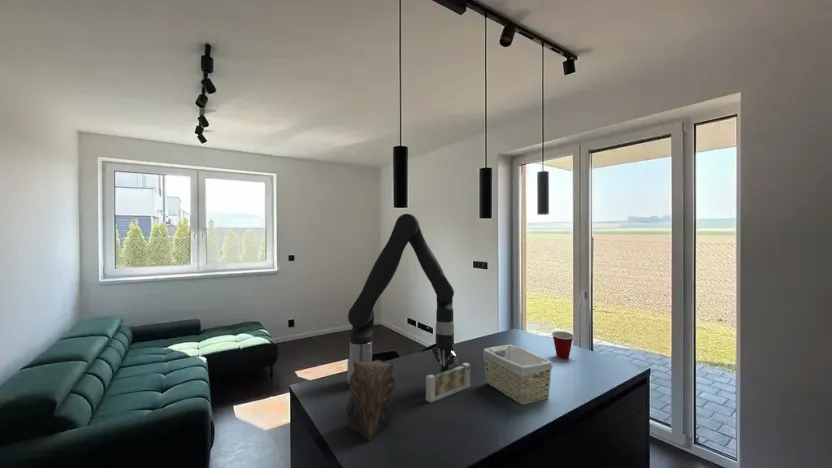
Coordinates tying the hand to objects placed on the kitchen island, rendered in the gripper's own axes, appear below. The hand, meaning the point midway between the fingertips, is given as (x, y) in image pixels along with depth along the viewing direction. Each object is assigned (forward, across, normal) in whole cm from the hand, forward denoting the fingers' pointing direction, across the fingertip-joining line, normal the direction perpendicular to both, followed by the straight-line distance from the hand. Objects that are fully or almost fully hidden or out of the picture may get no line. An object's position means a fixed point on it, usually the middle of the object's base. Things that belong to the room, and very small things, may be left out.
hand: (444, 374), depth 140 cm
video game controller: (+5, -14, +19) cm, 24 cm away
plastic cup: (+6, +14, +73) cm, 75 cm away
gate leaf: (+4, +5, -3) cm, 7 cm away
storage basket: (+6, +21, +20) cm, 29 cm away
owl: (+5, +7, -41) cm, 42 cm away
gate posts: (+5, +5, -3) cm, 8 cm away
